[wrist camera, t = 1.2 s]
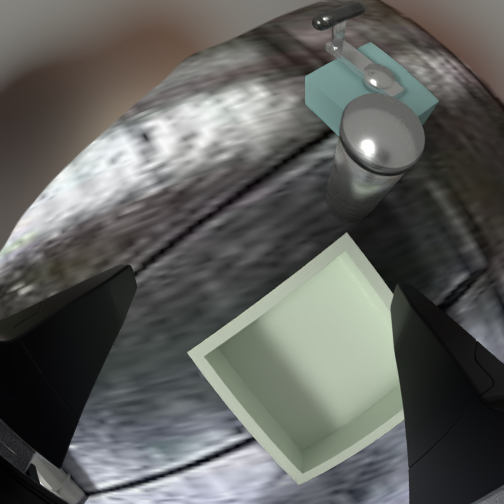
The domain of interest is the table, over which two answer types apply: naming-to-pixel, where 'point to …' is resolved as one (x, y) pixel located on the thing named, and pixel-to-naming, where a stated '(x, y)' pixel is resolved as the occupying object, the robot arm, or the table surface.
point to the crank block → (361, 88)
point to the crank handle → (355, 51)
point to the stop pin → (371, 154)
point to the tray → (311, 363)
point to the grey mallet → (59, 482)
